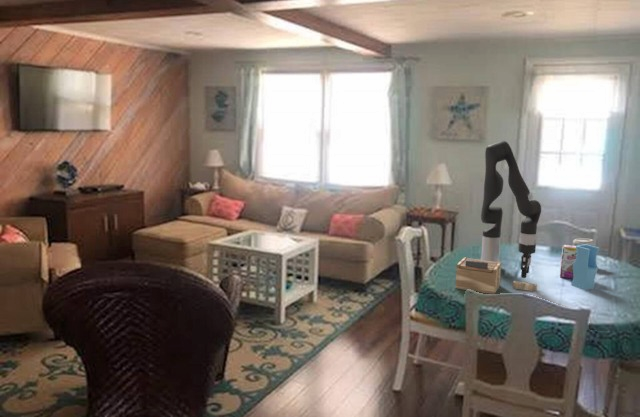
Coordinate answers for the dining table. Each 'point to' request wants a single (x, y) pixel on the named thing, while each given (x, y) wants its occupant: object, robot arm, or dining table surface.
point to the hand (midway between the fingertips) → (524, 275)
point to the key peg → (524, 286)
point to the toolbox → (478, 279)
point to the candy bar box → (568, 261)
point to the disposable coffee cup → (583, 242)
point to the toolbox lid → (478, 265)
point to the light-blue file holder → (585, 267)
